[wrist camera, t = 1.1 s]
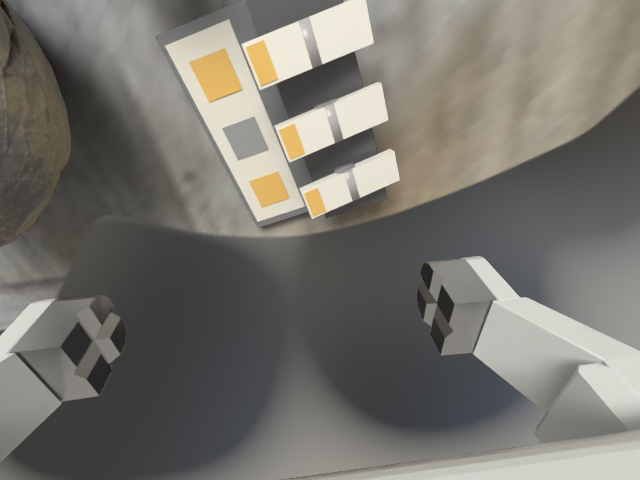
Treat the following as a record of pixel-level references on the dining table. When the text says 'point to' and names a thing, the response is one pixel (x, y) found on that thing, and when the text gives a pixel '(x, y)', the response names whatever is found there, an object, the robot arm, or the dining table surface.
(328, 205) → the switch
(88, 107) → the dining table surface
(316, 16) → the switch
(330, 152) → the switch unit
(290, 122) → the switch
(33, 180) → the ceramic pot
